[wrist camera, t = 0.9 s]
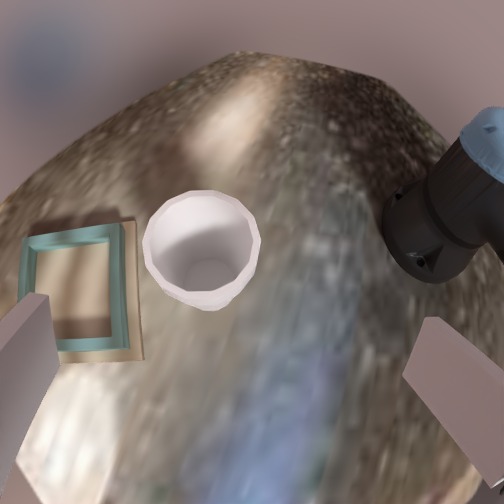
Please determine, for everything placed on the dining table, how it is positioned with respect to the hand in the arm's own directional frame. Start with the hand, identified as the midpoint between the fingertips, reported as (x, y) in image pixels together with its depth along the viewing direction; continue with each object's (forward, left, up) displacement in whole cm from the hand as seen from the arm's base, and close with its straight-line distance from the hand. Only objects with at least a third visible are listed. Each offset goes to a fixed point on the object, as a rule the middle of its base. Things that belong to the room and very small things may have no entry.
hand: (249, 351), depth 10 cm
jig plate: (+19, -10, -26) cm, 34 cm away
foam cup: (+2, -10, -26) cm, 28 cm away
